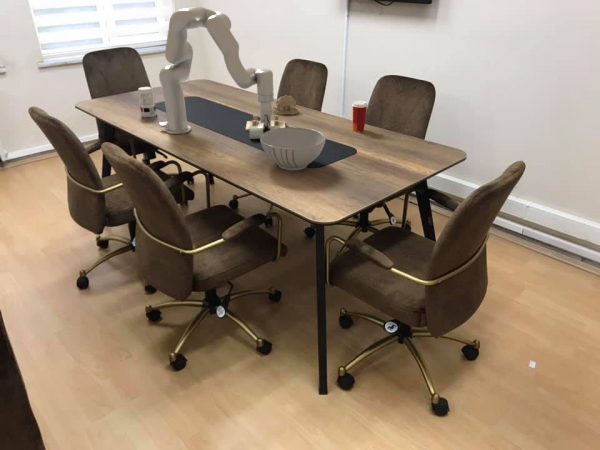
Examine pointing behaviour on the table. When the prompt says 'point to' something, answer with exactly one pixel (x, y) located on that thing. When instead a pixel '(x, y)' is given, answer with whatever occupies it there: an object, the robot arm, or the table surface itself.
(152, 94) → the supplement can
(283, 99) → the ceramic model
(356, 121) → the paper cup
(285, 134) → the decorative bowl
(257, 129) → the bottle
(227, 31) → the robot arm
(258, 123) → the bottle rest
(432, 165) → the table surface
